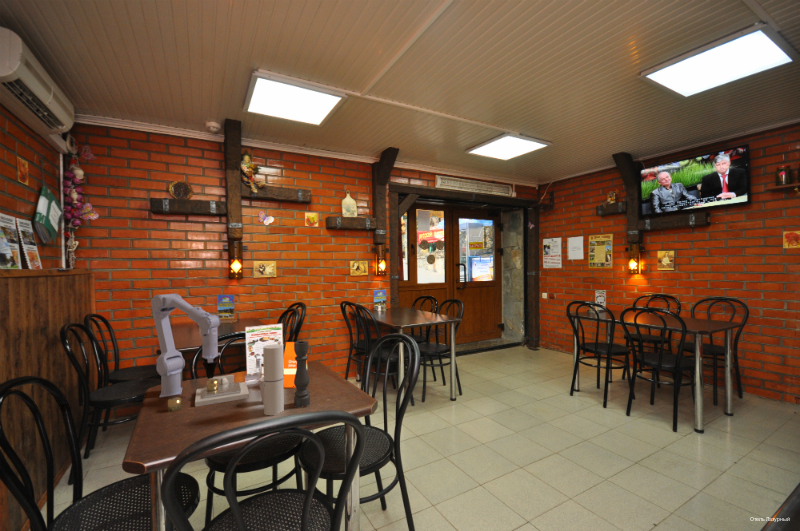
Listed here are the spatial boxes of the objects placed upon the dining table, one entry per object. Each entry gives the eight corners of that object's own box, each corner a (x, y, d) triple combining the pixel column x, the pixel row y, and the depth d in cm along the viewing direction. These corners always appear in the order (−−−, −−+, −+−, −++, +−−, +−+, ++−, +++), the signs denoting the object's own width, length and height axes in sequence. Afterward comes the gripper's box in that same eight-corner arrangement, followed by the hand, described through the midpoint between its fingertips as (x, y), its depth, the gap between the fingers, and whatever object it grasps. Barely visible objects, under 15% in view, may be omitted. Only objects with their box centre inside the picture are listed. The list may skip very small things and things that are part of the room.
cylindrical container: (272, 417, 133) (271, 349, 133) (260, 413, 137) (259, 347, 137) (287, 410, 139) (287, 345, 139) (275, 406, 143) (274, 343, 143)
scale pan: (204, 389, 159) (204, 387, 159) (239, 384, 165) (239, 381, 165) (203, 397, 148) (203, 395, 148) (240, 392, 154) (240, 389, 154)
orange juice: (302, 387, 166) (302, 343, 166) (283, 387, 166) (283, 343, 166) (307, 381, 174) (306, 340, 174) (289, 382, 174) (288, 340, 174)
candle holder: (295, 402, 147) (294, 340, 148) (311, 401, 148) (310, 340, 148) (292, 408, 141) (291, 344, 141) (308, 407, 142) (307, 343, 142)
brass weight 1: (168, 408, 143) (168, 398, 143) (181, 406, 145) (181, 396, 145) (167, 412, 139) (167, 402, 139) (180, 410, 141) (180, 400, 141)
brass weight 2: (206, 389, 156) (206, 379, 156) (218, 387, 158) (218, 378, 158) (206, 392, 152) (206, 382, 152) (218, 390, 154) (218, 381, 154)
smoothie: (269, 405, 144) (269, 370, 144) (255, 404, 145) (254, 369, 146) (278, 399, 150) (277, 366, 151) (264, 398, 152) (264, 365, 152)
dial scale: (196, 393, 160) (196, 379, 160) (245, 385, 169) (245, 372, 169) (195, 406, 144) (194, 391, 144) (249, 397, 153) (249, 383, 153)
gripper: (221, 346, 149) (221, 378, 149) (220, 340, 162) (220, 370, 162) (201, 348, 146) (202, 381, 146) (202, 341, 159) (202, 372, 159)
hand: (210, 375), depth 154 cm, fingers open, 7 cm apart
